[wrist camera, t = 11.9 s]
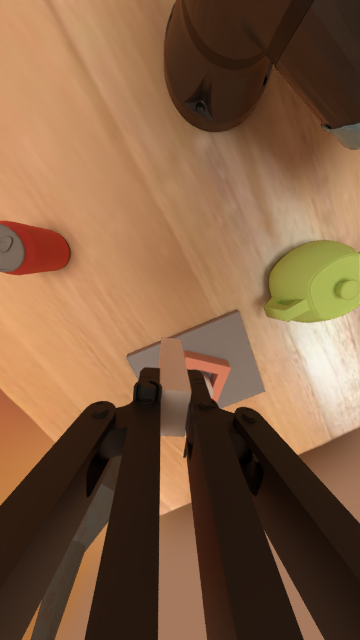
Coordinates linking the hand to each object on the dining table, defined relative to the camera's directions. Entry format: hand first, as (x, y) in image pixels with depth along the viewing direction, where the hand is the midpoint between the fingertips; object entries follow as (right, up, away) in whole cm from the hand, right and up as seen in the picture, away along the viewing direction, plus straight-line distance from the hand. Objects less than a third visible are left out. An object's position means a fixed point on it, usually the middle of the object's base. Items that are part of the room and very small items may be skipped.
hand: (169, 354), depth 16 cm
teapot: (+24, +11, +24) cm, 36 cm away
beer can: (-21, +15, +20) cm, 32 cm away
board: (+5, -9, +29) cm, 30 cm away
